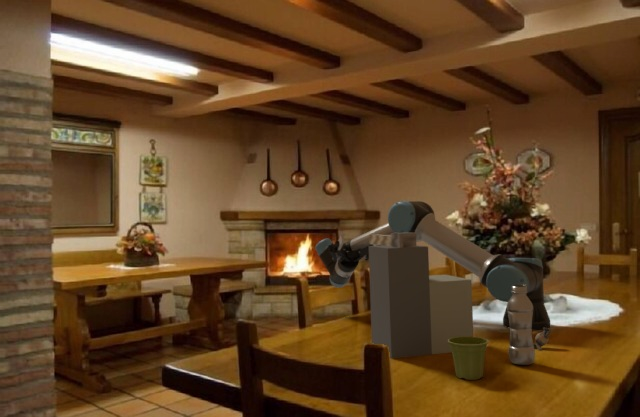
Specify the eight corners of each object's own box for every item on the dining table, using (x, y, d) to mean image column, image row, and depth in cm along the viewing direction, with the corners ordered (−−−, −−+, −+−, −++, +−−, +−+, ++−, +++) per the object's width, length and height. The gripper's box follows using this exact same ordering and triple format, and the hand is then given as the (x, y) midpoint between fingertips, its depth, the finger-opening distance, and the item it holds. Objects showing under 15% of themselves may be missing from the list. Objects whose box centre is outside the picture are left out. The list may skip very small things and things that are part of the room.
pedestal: (371, 345, 165) (368, 246, 165) (447, 338, 171) (444, 242, 172) (391, 358, 149) (387, 248, 150) (473, 350, 155) (470, 244, 156)
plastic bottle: (535, 361, 142) (532, 284, 142) (536, 368, 135) (533, 287, 136) (508, 360, 144) (505, 284, 144) (508, 367, 137) (505, 287, 138)
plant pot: (443, 372, 135) (442, 337, 135) (481, 370, 135) (479, 335, 136) (456, 383, 125) (455, 345, 125) (496, 381, 126) (494, 343, 126)
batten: (366, 244, 178) (366, 231, 178) (381, 243, 179) (380, 231, 179) (399, 247, 151) (399, 233, 151) (416, 247, 152) (415, 232, 152)
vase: (545, 345, 159) (545, 324, 159) (556, 351, 154) (557, 330, 153) (528, 346, 158) (528, 325, 158) (539, 352, 153) (539, 331, 152)
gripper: (379, 271, 210) (396, 245, 192) (316, 274, 204) (328, 248, 186) (375, 253, 214) (392, 227, 196) (313, 256, 208) (325, 229, 190)
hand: (361, 237), depth 191 cm, fingers open, 13 cm apart
